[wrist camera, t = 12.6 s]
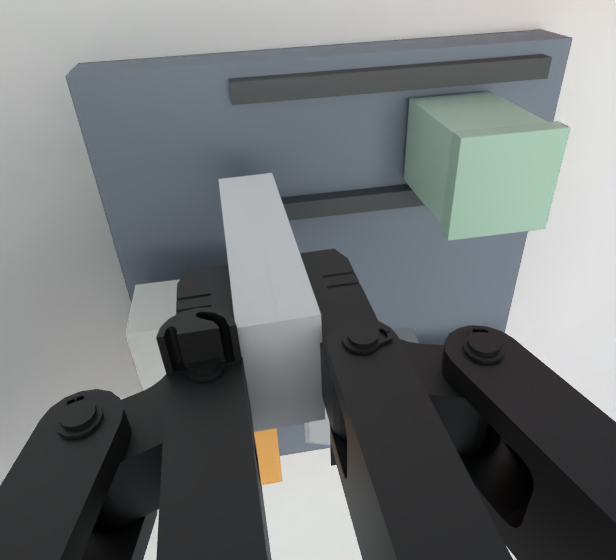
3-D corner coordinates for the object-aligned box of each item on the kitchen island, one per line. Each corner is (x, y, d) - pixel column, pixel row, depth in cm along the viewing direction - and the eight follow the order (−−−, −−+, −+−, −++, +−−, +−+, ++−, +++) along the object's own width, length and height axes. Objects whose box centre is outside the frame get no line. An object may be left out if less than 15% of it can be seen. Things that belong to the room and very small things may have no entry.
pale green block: (400, 182, 19) (448, 240, 16) (406, 95, 18) (461, 138, 14) (480, 173, 20) (545, 228, 16) (494, 87, 18) (570, 127, 14)
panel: (182, 441, 29) (179, 502, 26) (78, 63, 17) (50, 90, 14) (468, 396, 31) (498, 448, 27) (541, 29, 19) (605, 47, 16)
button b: (160, 373, 21) (154, 427, 18) (135, 284, 18) (125, 334, 16) (267, 358, 21) (274, 409, 19) (257, 269, 19) (264, 315, 16)
